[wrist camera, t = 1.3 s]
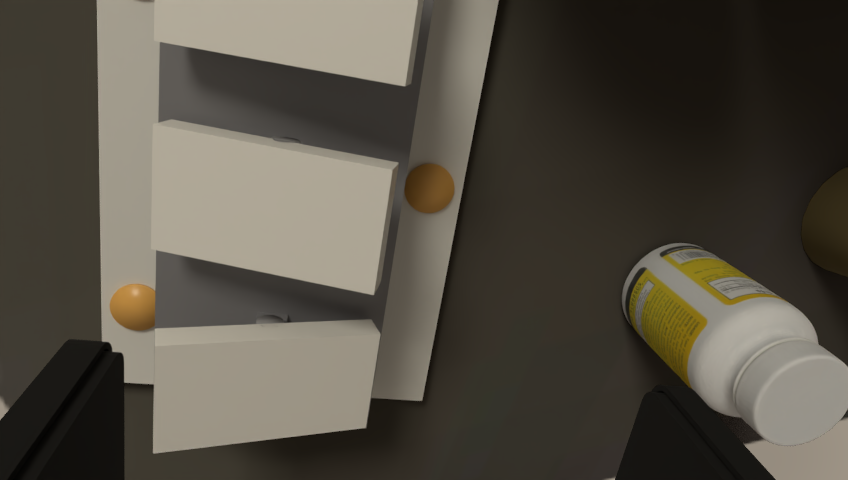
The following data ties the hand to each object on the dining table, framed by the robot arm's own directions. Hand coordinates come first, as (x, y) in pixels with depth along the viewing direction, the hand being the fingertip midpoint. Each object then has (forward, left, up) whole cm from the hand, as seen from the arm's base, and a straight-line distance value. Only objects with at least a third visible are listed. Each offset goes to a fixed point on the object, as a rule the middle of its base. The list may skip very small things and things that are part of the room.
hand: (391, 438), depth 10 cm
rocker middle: (+3, 0, -13) cm, 13 cm away
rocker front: (+3, -7, -13) cm, 15 cm away
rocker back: (+3, +7, -13) cm, 15 cm away
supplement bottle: (-17, +4, -18) cm, 25 cm away
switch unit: (+3, 0, -18) cm, 18 cm away
